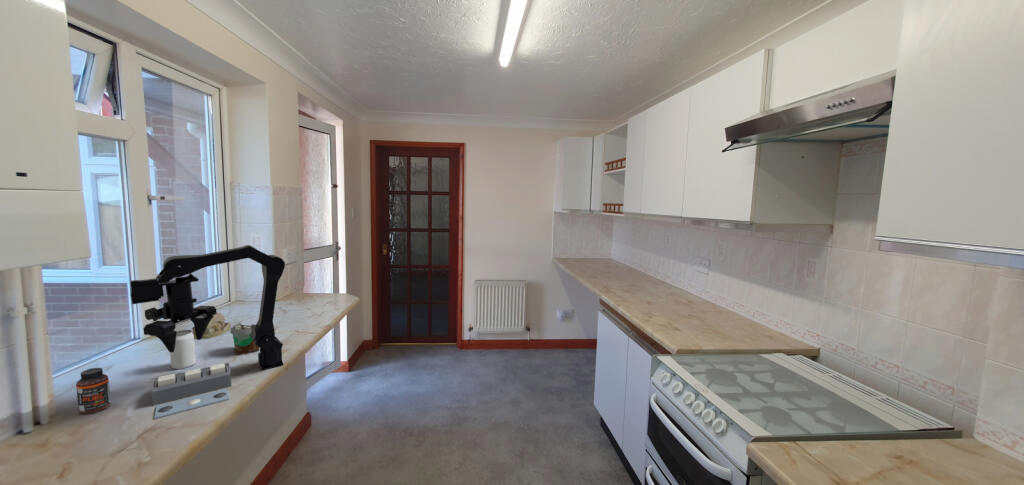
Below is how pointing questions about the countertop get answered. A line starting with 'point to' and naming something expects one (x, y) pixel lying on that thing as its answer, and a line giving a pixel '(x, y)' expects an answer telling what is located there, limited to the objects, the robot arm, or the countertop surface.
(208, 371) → the button board
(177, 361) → the can
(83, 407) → the supplement bottle
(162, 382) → the button
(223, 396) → the pattern card
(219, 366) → the button
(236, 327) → the food container
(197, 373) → the button middle
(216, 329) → the ceramic model
